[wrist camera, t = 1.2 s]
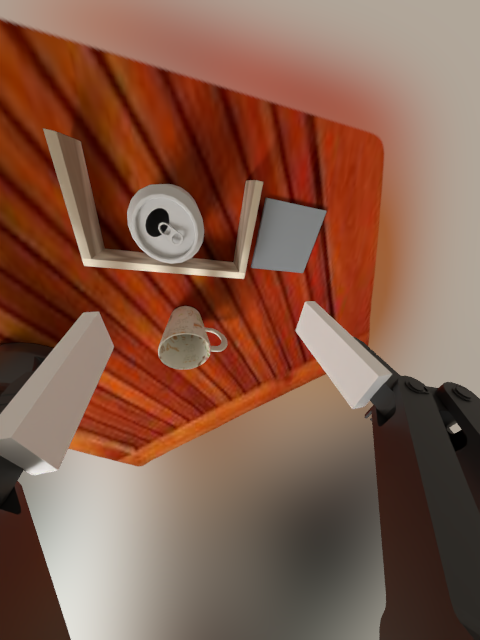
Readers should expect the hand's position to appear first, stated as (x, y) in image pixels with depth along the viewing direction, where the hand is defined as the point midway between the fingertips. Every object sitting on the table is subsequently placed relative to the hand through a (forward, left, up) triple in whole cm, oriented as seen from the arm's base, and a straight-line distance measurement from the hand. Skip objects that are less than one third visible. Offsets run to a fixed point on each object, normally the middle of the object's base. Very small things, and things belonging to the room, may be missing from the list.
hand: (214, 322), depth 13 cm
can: (-4, +3, -23) cm, 23 cm away
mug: (0, -16, -23) cm, 28 cm away
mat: (+15, +2, -22) cm, 27 cm away
